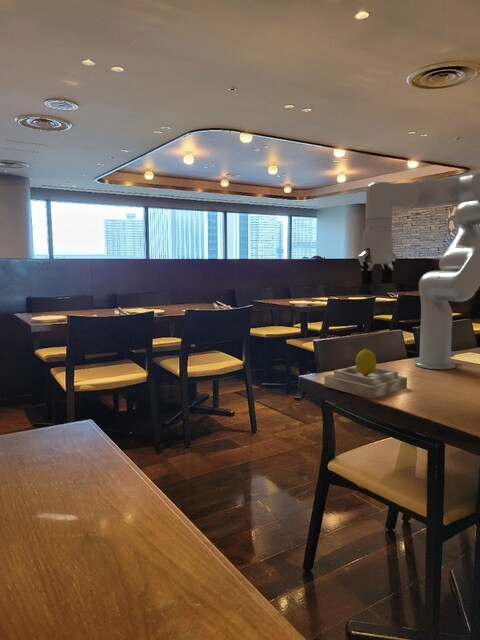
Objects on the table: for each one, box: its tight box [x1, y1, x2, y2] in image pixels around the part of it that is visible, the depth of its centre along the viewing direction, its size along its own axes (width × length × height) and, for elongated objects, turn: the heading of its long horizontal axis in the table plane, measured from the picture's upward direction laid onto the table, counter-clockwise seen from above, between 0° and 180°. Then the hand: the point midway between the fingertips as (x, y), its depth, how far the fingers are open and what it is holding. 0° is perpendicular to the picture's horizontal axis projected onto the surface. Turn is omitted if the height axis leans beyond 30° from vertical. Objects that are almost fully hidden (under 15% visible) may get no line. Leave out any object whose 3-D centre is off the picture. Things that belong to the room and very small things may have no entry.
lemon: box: [355, 348, 377, 377], centre depth 128 cm, size 6×6×8 cm
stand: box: [323, 365, 408, 400], centre depth 129 cm, size 16×16×4 cm
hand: (377, 283), depth 138 cm, fingers open, 9 cm apart
